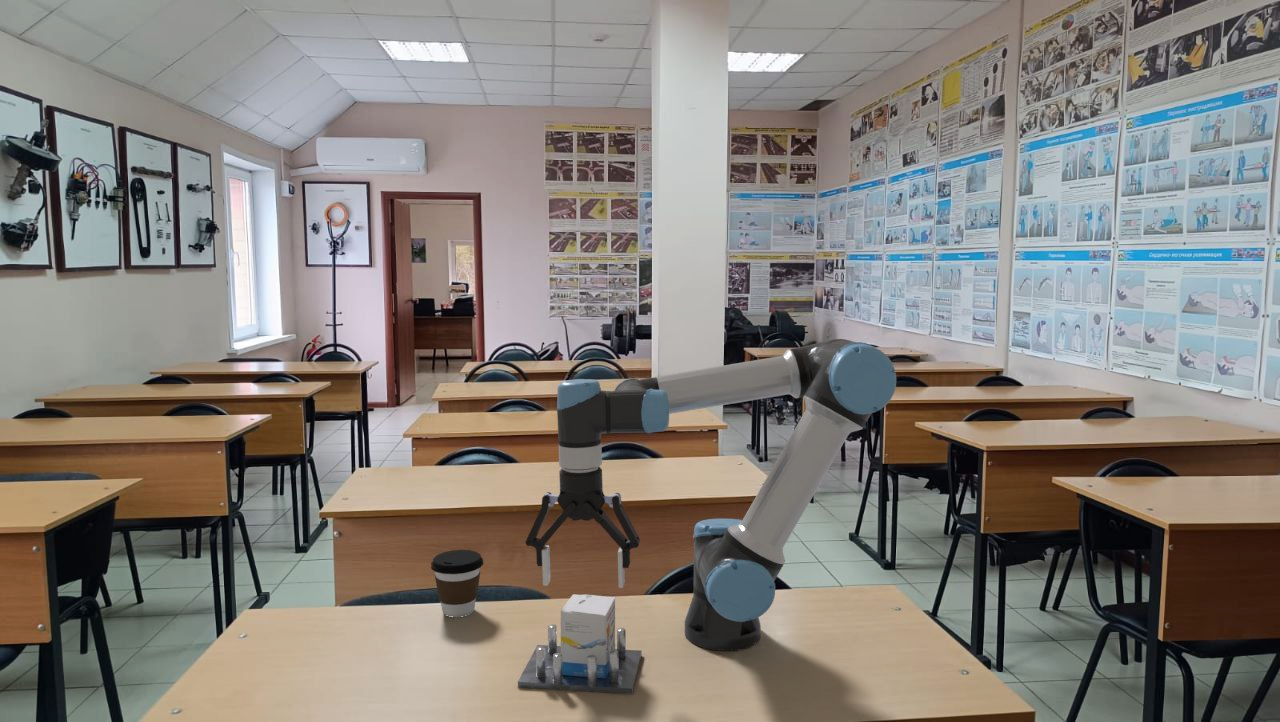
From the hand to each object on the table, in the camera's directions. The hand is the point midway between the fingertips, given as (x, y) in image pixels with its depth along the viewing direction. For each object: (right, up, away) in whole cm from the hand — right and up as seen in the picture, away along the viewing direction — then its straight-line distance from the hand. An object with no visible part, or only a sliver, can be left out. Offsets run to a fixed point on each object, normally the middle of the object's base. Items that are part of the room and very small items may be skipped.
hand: (584, 584), depth 140 cm
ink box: (+1, -15, +1) cm, 15 cm away
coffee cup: (-29, -14, +27) cm, 42 cm away
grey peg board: (0, -16, +2) cm, 16 cm away
